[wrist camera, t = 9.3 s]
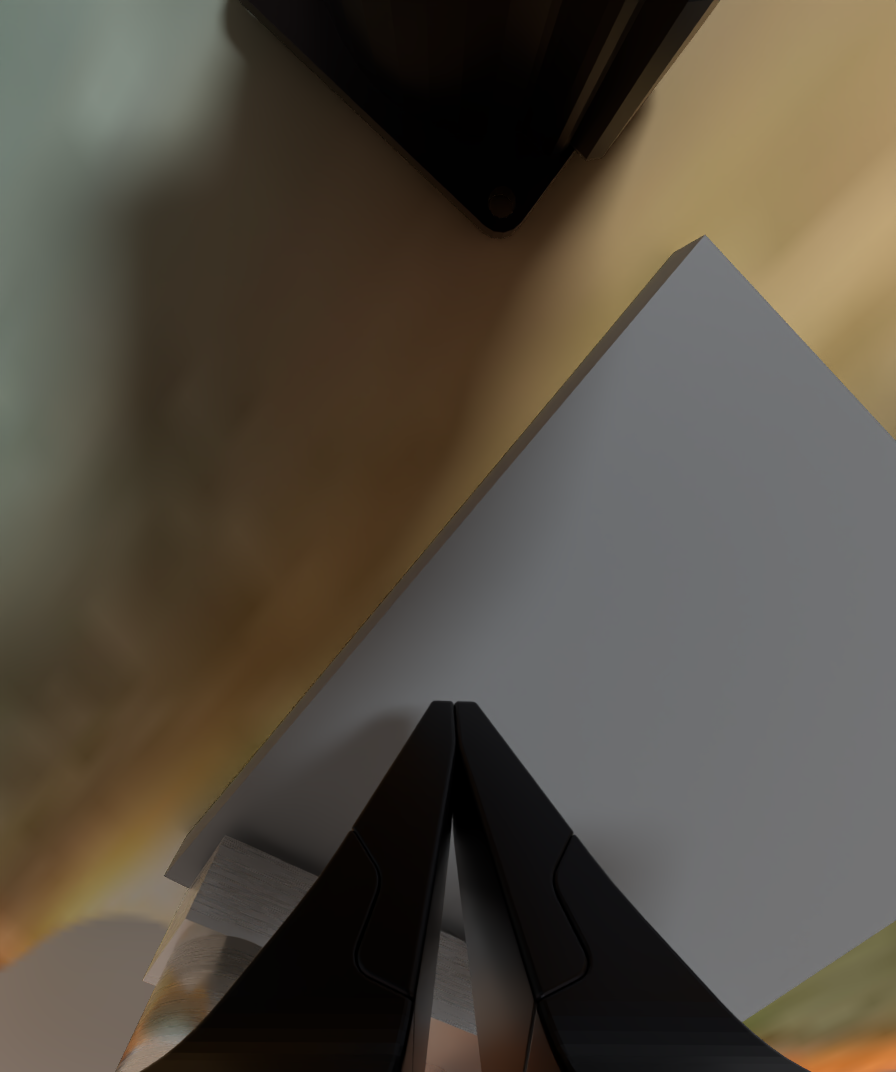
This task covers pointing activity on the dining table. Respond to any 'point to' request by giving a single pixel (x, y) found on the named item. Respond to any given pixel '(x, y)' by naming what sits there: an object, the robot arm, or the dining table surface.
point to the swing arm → (238, 936)
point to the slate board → (651, 644)
